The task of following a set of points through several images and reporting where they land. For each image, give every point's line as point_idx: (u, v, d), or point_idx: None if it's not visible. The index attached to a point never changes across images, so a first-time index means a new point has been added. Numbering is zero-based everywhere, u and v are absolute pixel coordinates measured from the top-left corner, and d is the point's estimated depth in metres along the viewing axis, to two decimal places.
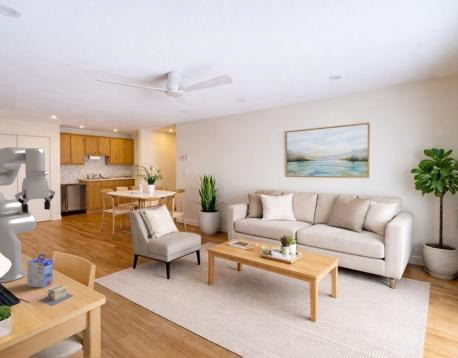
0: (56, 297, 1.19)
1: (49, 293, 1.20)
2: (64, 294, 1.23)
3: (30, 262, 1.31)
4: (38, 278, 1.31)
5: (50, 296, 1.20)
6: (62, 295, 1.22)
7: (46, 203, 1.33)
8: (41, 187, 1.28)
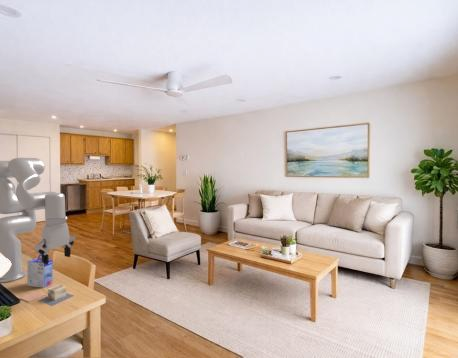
0: (56, 297, 1.19)
1: (49, 293, 1.20)
2: (64, 294, 1.23)
3: (30, 262, 1.31)
4: (38, 278, 1.31)
5: (50, 296, 1.20)
6: (62, 295, 1.22)
7: (66, 250, 1.25)
8: (62, 234, 1.20)
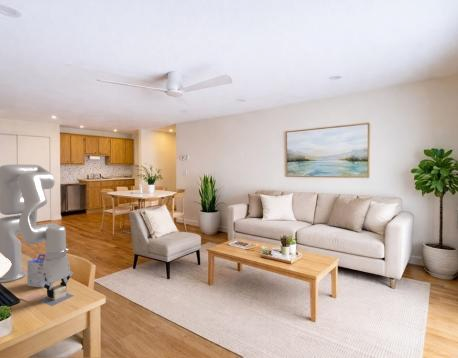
0: (56, 297, 1.19)
1: None
2: (64, 294, 1.23)
3: (30, 262, 1.31)
4: (38, 278, 1.31)
5: None
6: (62, 295, 1.22)
7: (62, 285, 1.24)
8: (62, 267, 1.21)
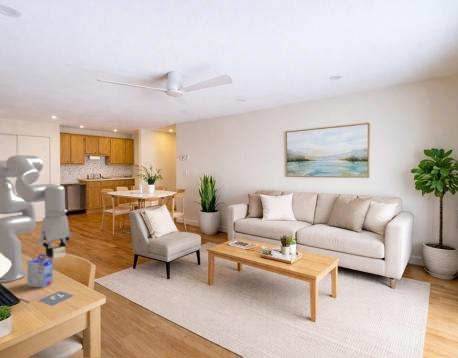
0: (55, 256, 1.18)
1: None
2: (63, 254, 1.22)
3: (30, 262, 1.31)
4: (38, 278, 1.31)
5: None
6: (61, 255, 1.21)
7: None
8: (61, 227, 1.20)
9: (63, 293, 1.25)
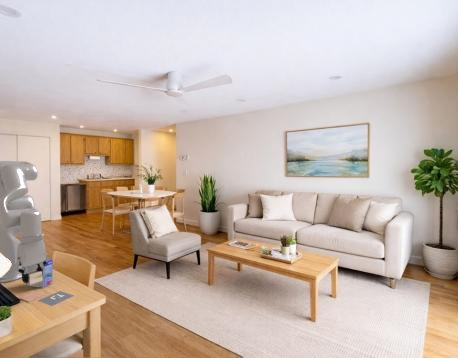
0: (31, 282, 1.18)
1: None
2: (40, 279, 1.21)
3: None
4: None
5: None
6: (38, 280, 1.20)
7: None
8: (37, 252, 1.20)
9: (63, 293, 1.25)
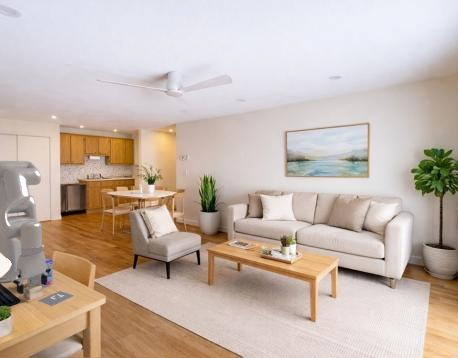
0: (31, 297, 1.19)
1: (25, 293, 1.20)
2: (40, 293, 1.22)
3: None
4: (38, 278, 1.31)
5: (26, 296, 1.19)
6: (38, 294, 1.21)
7: (43, 278, 1.25)
8: (38, 264, 1.20)
9: (63, 293, 1.25)
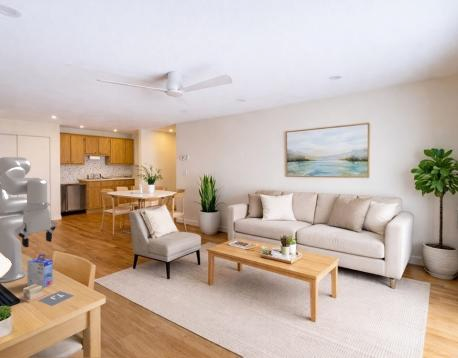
0: (31, 297, 1.19)
1: (25, 293, 1.20)
2: (40, 293, 1.22)
3: (30, 262, 1.31)
4: (38, 278, 1.31)
5: (26, 296, 1.19)
6: (38, 294, 1.21)
7: (48, 235, 1.28)
8: (43, 220, 1.24)
9: (63, 293, 1.25)
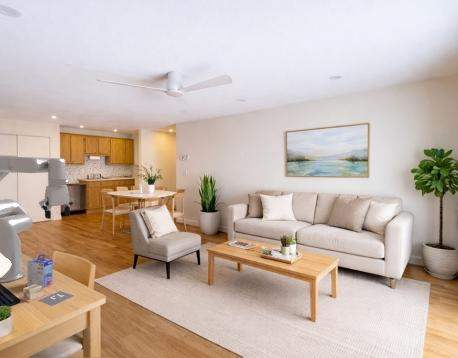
0: (31, 297, 1.19)
1: (25, 293, 1.20)
2: (40, 293, 1.22)
3: (30, 262, 1.31)
4: (38, 278, 1.31)
5: (26, 296, 1.19)
6: (38, 294, 1.21)
7: (66, 209, 1.42)
8: (62, 194, 1.38)
9: (63, 293, 1.25)
